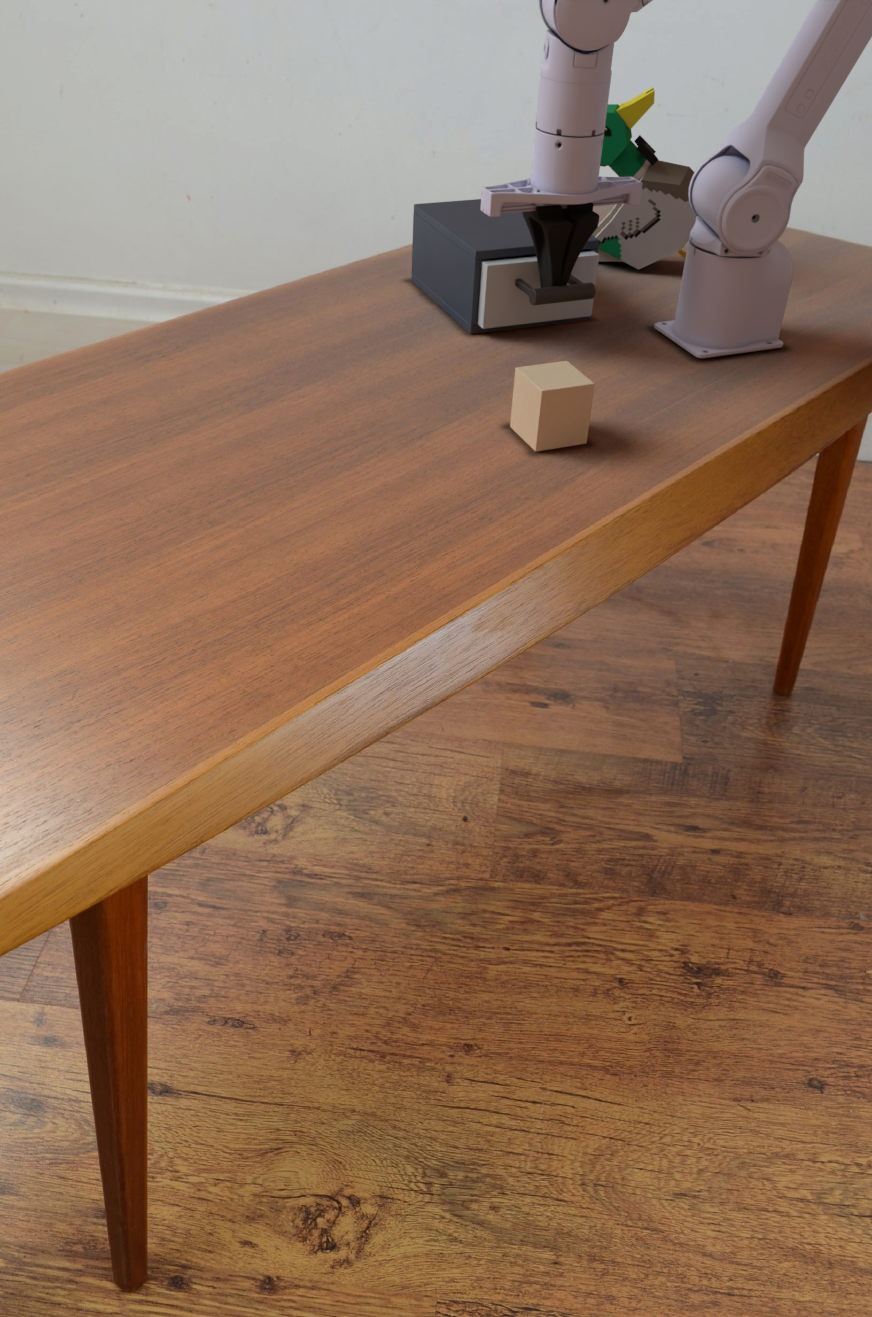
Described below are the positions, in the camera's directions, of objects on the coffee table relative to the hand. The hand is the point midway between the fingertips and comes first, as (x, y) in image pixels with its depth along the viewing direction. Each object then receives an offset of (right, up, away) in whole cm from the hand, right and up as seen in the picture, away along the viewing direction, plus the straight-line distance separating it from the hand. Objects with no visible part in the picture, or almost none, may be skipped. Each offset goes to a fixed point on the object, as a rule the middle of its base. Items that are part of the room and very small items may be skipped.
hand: (552, 291), depth 103 cm
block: (-2, -15, -13) cm, 20 cm away
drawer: (-3, +1, +7) cm, 7 cm away
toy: (+12, +9, +21) cm, 26 cm away
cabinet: (-4, +2, +10) cm, 11 cm away
